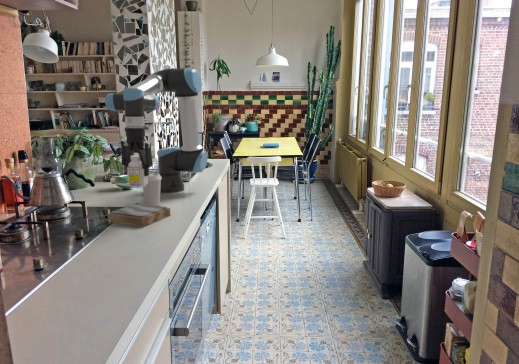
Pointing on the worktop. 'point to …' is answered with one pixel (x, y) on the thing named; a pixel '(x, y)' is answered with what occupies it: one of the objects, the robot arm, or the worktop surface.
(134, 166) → the supplement bottle
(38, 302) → the worktop surface
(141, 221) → the plinth
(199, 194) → the worktop surface
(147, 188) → the coffee cup
